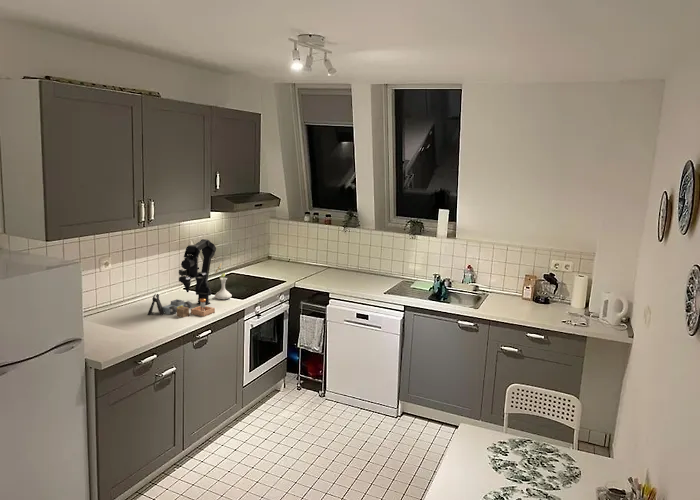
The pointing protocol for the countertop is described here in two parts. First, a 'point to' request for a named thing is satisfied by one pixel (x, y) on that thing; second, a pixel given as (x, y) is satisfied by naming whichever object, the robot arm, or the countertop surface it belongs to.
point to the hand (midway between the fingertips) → (192, 290)
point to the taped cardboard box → (182, 311)
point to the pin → (202, 304)
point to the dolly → (175, 306)
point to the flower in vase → (223, 292)
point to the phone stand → (157, 306)
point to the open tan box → (202, 313)
